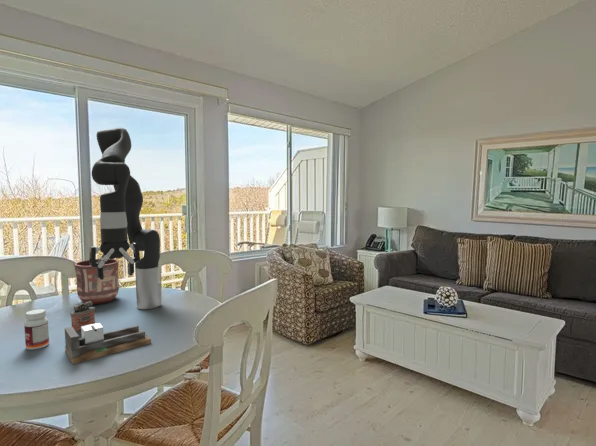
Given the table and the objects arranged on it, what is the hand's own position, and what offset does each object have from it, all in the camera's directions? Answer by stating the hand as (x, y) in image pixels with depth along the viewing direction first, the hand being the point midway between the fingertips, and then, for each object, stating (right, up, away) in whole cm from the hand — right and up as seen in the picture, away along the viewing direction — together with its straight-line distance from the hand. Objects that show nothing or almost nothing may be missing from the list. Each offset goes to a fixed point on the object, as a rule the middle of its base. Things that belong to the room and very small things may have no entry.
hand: (116, 277), depth 117 cm
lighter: (-18, -21, +14) cm, 31 cm away
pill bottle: (-26, -22, +1) cm, 34 cm away
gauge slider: (-5, -21, -4) cm, 22 cm away
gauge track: (-2, -22, 0) cm, 22 cm away
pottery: (-32, -18, +49) cm, 62 cm away
